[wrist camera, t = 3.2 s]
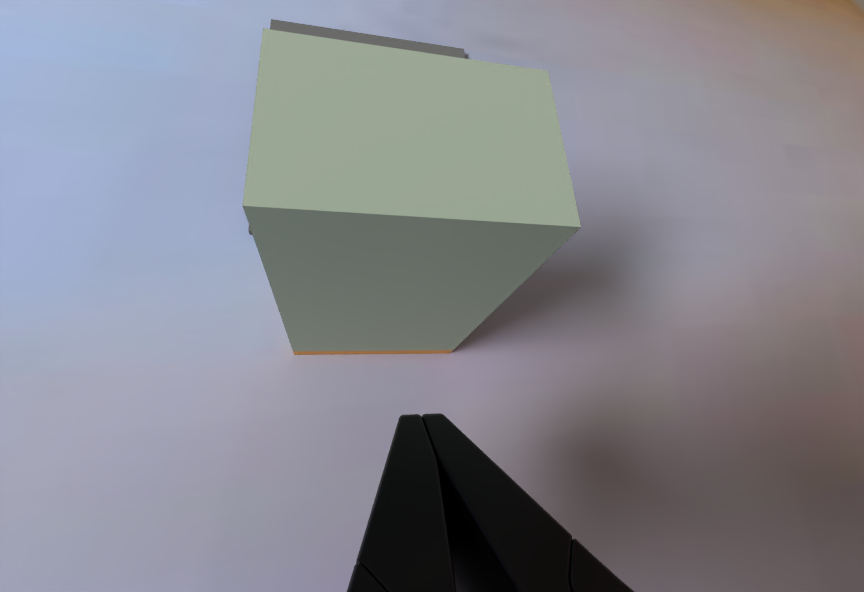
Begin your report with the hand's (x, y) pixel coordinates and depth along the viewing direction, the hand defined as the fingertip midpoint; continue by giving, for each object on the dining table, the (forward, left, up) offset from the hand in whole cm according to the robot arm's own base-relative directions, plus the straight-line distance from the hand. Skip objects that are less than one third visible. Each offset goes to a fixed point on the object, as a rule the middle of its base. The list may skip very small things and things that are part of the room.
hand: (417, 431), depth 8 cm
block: (+5, +2, -8) cm, 9 cm away
